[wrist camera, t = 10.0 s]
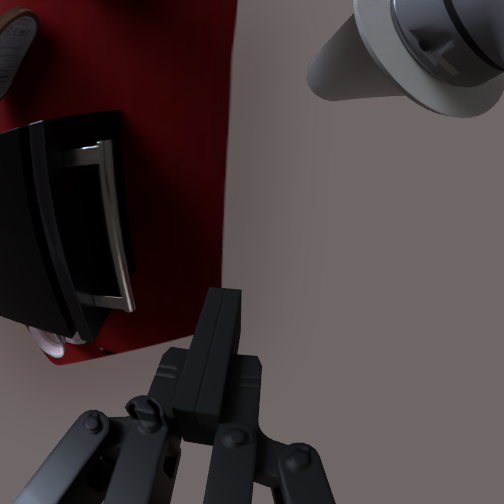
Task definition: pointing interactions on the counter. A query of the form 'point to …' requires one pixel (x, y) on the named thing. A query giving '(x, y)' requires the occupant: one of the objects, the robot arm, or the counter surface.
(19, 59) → the tin
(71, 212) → the oven door
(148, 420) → the robot arm
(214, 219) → the counter surface
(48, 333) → the teacup
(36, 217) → the oven
